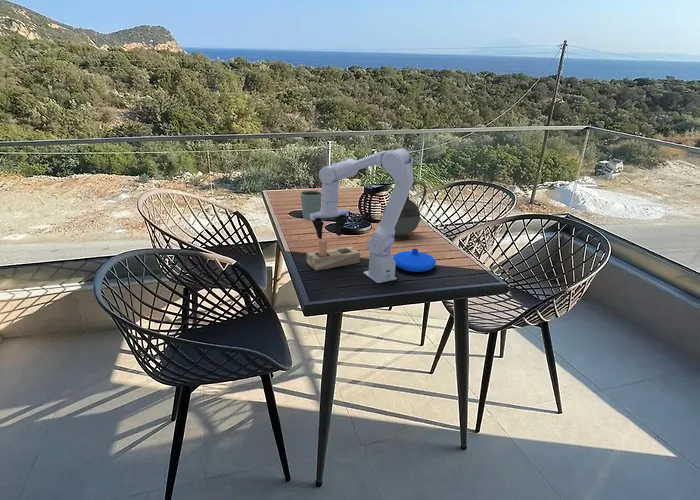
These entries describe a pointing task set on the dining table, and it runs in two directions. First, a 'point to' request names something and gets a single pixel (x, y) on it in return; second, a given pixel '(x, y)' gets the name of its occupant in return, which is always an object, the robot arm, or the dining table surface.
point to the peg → (322, 248)
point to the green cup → (310, 203)
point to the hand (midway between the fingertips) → (329, 236)
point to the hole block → (333, 258)
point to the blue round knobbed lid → (414, 261)
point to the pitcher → (409, 215)
